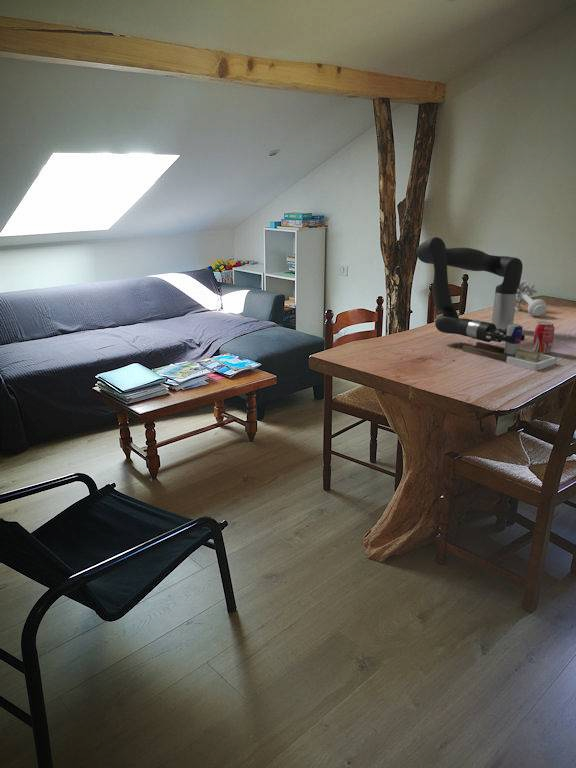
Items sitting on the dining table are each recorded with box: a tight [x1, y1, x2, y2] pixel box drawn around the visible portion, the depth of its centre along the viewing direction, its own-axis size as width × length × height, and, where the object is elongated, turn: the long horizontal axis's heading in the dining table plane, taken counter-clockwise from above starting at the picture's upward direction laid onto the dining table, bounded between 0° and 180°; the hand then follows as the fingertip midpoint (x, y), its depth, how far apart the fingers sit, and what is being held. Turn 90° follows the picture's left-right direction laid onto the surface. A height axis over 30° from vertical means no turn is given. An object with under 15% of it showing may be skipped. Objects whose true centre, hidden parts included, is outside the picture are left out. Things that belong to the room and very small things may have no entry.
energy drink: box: [503, 323, 524, 358], centre depth 214 cm, size 5×5×12 cm
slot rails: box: [461, 341, 508, 362], centre depth 223 cm, size 11×19×2 cm, turn 38°
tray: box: [505, 354, 558, 372], centre depth 210 cm, size 14×12×2 cm
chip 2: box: [525, 350, 541, 363], centre depth 210 cm, size 4×4×4 cm
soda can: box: [532, 320, 555, 355], centre depth 224 cm, size 7×7×12 cm
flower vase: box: [515, 278, 547, 317], centre depth 295 cm, size 13×18×25 cm
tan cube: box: [514, 348, 531, 360], centre depth 213 cm, size 4×4×4 cm
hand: (519, 339), depth 212 cm, fingers closed on energy drink, 5 cm apart
